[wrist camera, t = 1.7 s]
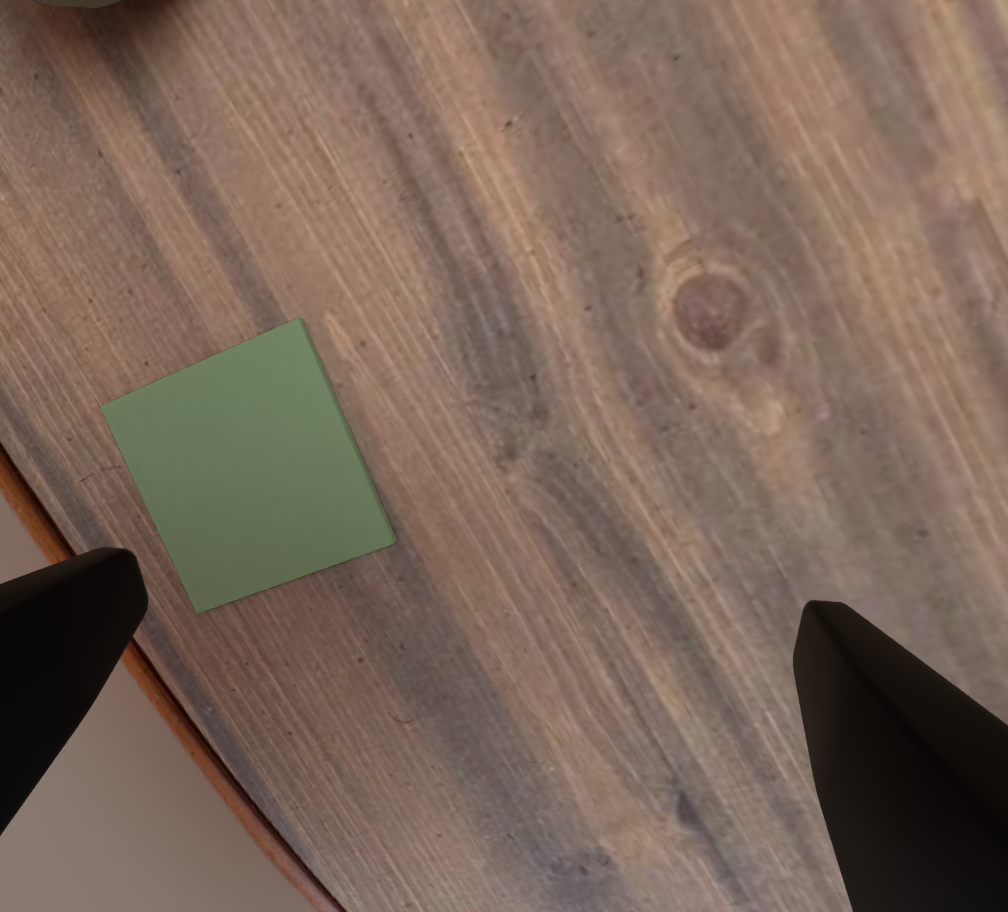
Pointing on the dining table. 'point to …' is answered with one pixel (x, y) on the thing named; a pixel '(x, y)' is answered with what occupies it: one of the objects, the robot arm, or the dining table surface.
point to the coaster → (249, 468)
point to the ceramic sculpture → (79, 3)
